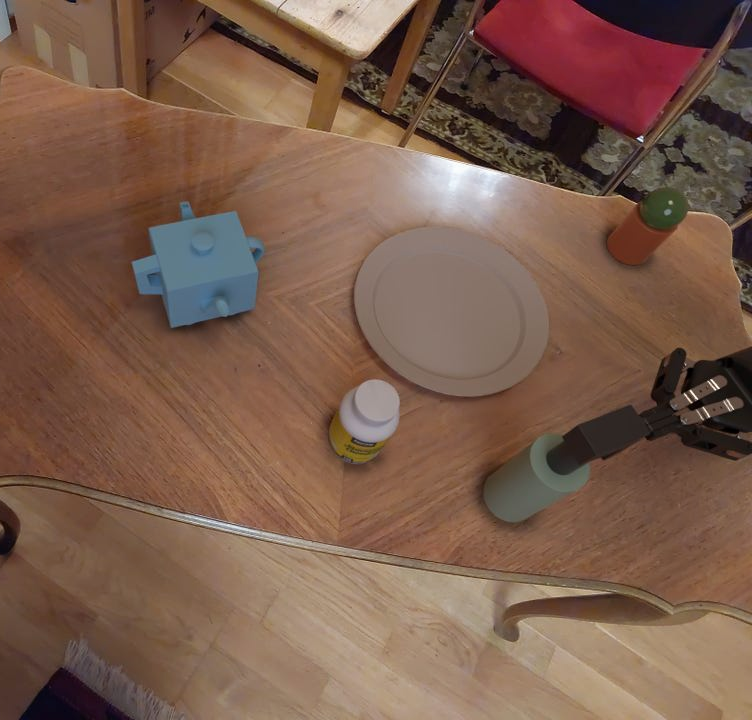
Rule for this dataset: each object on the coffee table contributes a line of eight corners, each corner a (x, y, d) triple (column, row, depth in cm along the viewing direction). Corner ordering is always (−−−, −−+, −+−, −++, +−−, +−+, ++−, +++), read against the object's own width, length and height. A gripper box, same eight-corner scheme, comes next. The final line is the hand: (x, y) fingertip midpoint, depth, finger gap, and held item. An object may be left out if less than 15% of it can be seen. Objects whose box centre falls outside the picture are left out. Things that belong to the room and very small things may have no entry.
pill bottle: (323, 460, 75) (342, 422, 65) (330, 409, 78) (349, 365, 68) (379, 470, 75) (406, 435, 65) (383, 419, 78) (410, 377, 68)
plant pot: (643, 234, 95) (694, 179, 85) (651, 267, 92) (705, 215, 82) (603, 229, 95) (649, 174, 85) (610, 262, 92) (658, 210, 82)
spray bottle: (534, 457, 78) (630, 386, 60) (561, 504, 75) (670, 444, 57) (473, 481, 76) (554, 415, 58) (499, 530, 73) (592, 477, 55)
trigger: (597, 434, 67) (625, 415, 63) (612, 457, 66) (641, 440, 62) (588, 438, 67) (615, 419, 63) (602, 461, 66) (631, 444, 62)
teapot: (241, 232, 89) (245, 173, 79) (282, 344, 82) (293, 294, 72) (126, 255, 86) (115, 197, 76) (158, 374, 78) (150, 327, 68)
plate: (382, 417, 78) (386, 411, 76) (330, 246, 89) (332, 237, 88) (573, 385, 83) (581, 378, 81) (501, 225, 94) (506, 216, 92)
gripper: (753, 309, 69) (622, 356, 65) (842, 419, 64) (706, 478, 59) (705, 343, 75) (583, 388, 71) (782, 446, 70) (656, 500, 66)
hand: (639, 429), depth 65 cm, fingers closed
